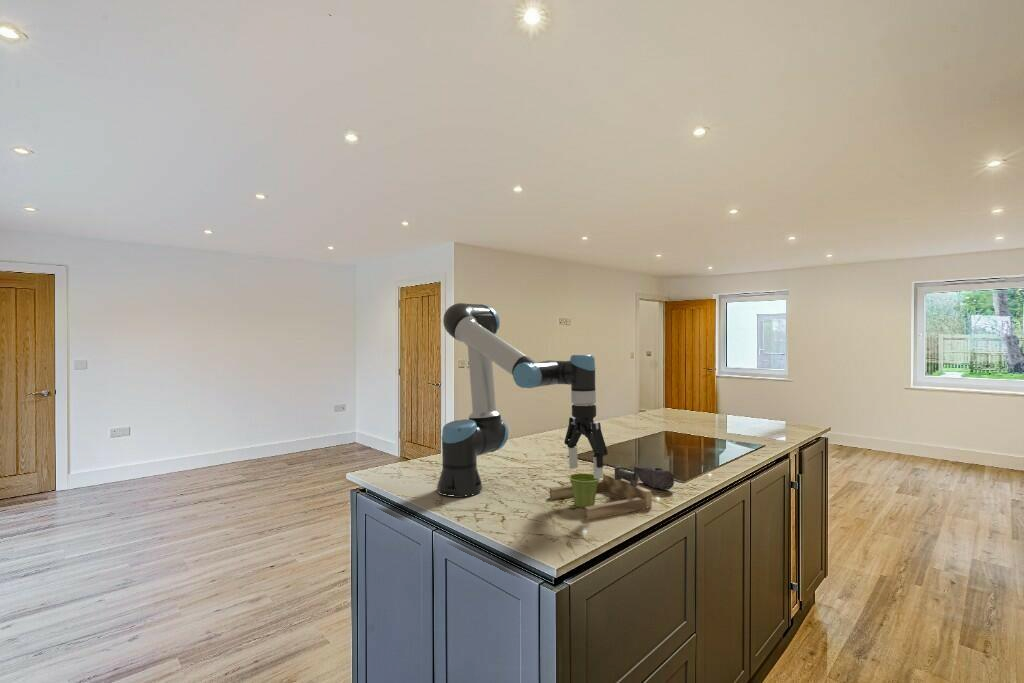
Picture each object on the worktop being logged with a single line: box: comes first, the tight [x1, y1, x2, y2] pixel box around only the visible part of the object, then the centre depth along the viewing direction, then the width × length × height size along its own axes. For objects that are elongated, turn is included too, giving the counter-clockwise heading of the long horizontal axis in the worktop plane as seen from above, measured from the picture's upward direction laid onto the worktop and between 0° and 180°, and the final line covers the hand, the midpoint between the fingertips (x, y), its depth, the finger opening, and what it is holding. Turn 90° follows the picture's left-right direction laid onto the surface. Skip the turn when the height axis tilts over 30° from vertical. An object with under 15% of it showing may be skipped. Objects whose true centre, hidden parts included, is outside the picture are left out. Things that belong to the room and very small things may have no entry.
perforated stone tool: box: [638, 466, 675, 491], centre depth 169 cm, size 15×5×7 cm, turn 27°
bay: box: [549, 465, 653, 520], centre depth 153 cm, size 22×23×11 cm
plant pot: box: [568, 472, 601, 509], centre depth 151 cm, size 9×9×9 cm
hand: (585, 472), depth 151 cm, fingers open, 13 cm apart
